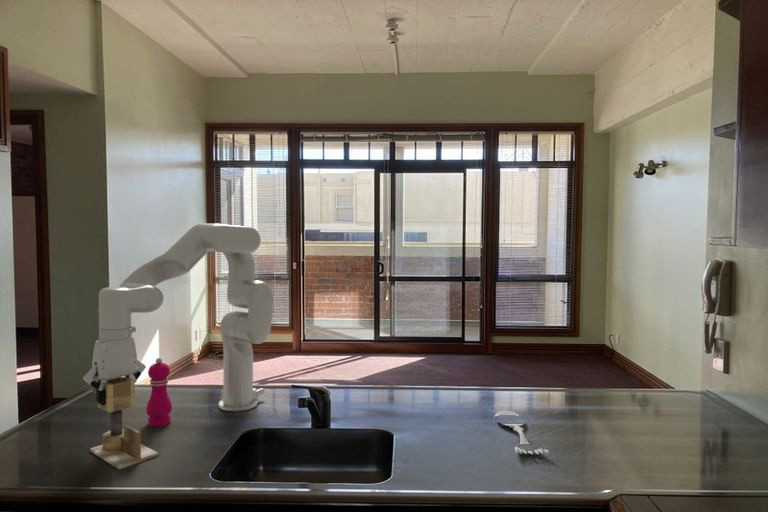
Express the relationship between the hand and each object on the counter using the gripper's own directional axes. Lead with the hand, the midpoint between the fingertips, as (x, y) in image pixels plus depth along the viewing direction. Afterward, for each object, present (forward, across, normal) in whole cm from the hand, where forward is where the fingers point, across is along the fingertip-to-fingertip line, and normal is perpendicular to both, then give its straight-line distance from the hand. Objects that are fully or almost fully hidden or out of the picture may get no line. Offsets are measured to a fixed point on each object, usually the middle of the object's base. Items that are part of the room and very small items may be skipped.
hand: (116, 400), depth 140 cm
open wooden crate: (+2, 0, -5) cm, 5 cm away
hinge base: (+13, 0, +4) cm, 14 cm away
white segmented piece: (+14, -78, +79) cm, 112 cm away
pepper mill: (+14, -17, -9) cm, 24 cm away
